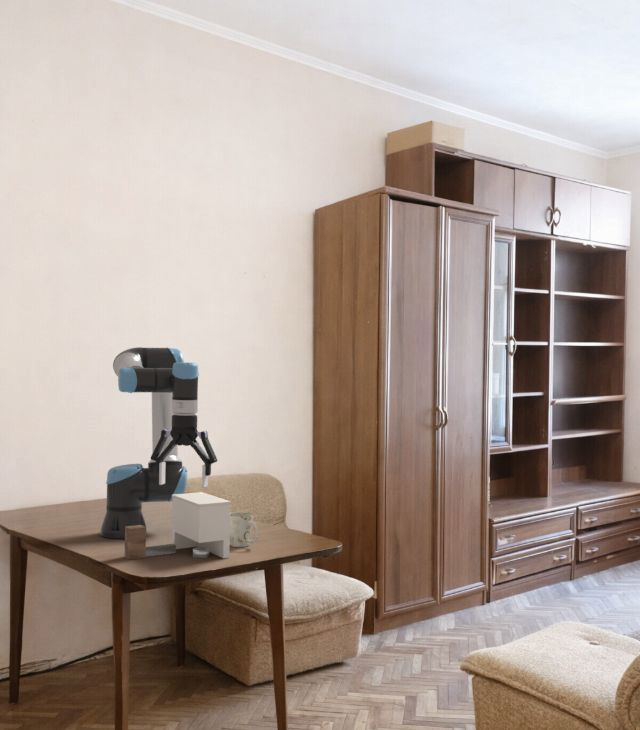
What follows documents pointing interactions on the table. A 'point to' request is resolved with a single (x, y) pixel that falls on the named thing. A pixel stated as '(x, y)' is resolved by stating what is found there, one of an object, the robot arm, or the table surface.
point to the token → (201, 552)
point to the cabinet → (201, 522)
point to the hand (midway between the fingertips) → (183, 485)
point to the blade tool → (143, 544)
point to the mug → (242, 529)
